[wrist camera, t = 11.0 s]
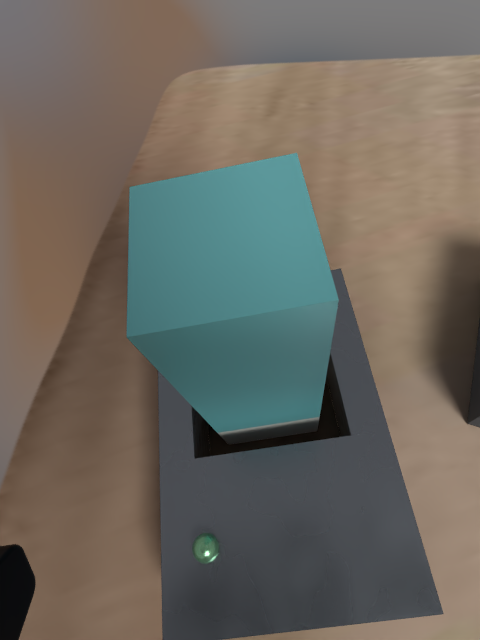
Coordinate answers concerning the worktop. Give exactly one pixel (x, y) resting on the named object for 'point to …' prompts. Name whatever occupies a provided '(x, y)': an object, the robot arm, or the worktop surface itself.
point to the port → (290, 518)
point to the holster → (475, 389)
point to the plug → (234, 295)
